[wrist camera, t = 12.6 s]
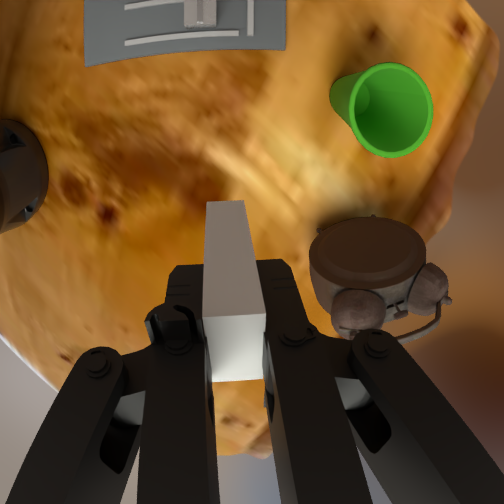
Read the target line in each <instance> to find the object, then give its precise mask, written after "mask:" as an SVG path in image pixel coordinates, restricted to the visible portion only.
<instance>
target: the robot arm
mask: <svg viewBox="0 0 504 504" xmlns="http://www.w3.org/2000/svg"><path fill="white" fill-rule="evenodd" d="M47 187H48V168H47V163H46V158H45V155H44V152H43V150H42V148H41V146H40V144H39V142H38V140H37V139H36V137H35V136H34V135H33V133H32V132H31V131H30V130H29V129H28V128H26V127H25V126H24V125H22V124H21V123H19V122H16V121H14V120H8V119H2V120H0V234H1V233H3V232H6V231H9V230H11V229H14V228H16V227H19V226H21V225H23V224H24V223H26V222H27V221H28V220H29V219H30V218H31V217H32V216H33V215H34V214H35V213H36V212H37V211H38V210H39V208H40V207H41V205H42V203H43V201H44V199H45V196H46V192H47ZM144 322H145V325H146V328H147V331H148V335H149V338H150V341H151V345H149V346H148V347H146V348H144V349H142V350H139V351H137V352H133V353H129V354H125V355H122V356H121V355H120V354H119V353H118V352H117V351H116V350H114V349H112V348H110V347H101V346H100V347H96V348H92V349H90V350H88V351H86V352H85V353H83V354H82V355H81V356H80V358H79V359H78V360H77V361H76V363H75V365H74V367H73V368H72V370H71V372H70V373H69V375H68V377H67V379H66V380H65V382H64V384H63V386H62V388H61V389H60V391H59V393H58V395H57V397H56V398H55V400H54V402H53V404H52V406H51V408H50V410H49V411H48V414H47V415H46V417H45V419H44V421H43V423H42V425H41V427H40V429H39V431H38V433H37V435H36V437H35V439H34V441H33V443H32V445H31V447H30V449H29V451H28V453H27V455H26V458H25V460H24V462H23V464H22V466H21V469H20V471H19V473H18V475H17V478H16V480H15V482H14V484H13V487H12V489H11V491H10V494H9V496H8V499H7V501H6V503H5V504H120V502H121V499H122V495H123V493H124V490H125V487H126V484H127V481H128V478H129V475H130V473H131V469H132V467H133V464H134V461H135V458H136V455H137V452H138V449H139V447H140V453H139V468H138V486H137V504H220V495H219V481H218V467H217V451H216V433H215V412H214V396H213V391H212V382H221V381H238V380H252V379H263V375H264V381H265V394H264V407H266V408H267V415H268V421H269V428H270V434H271V441H272V447H273V454H274V460H275V466H276V473H277V479H278V485H279V492H280V498H281V504H373V502H372V499H371V495H370V492H369V489H368V485H367V481H366V478H365V474H364V471H363V467H362V464H361V460H360V457H359V454H358V451H357V447H358V449H359V451H360V452H361V454H362V456H363V457H364V459H365V460H366V462H367V463H368V465H369V467H370V468H371V470H372V472H373V473H374V475H375V476H376V478H377V480H378V481H379V483H380V485H381V486H382V488H383V489H384V491H385V492H386V494H387V496H388V497H389V499H390V501H391V502H392V504H504V474H503V473H502V472H501V470H500V469H499V467H498V466H497V465H496V463H495V462H494V461H493V459H492V458H491V457H490V455H489V454H488V453H487V451H486V450H485V449H484V447H483V446H482V444H481V443H480V442H479V440H478V439H477V438H476V437H475V435H474V434H473V433H472V431H471V430H470V429H469V427H468V426H467V425H466V424H465V422H464V421H463V420H462V418H461V417H460V416H459V415H458V413H457V412H456V411H455V409H454V408H453V407H452V406H451V404H450V403H449V402H448V401H447V400H446V398H445V397H444V396H443V394H442V393H441V392H440V391H439V389H438V388H437V387H436V386H435V385H434V383H433V382H432V381H431V380H430V378H429V377H428V376H427V375H426V374H425V373H424V371H423V370H422V369H421V368H420V366H419V365H418V364H417V363H416V362H415V360H414V359H413V358H412V357H411V356H410V355H409V353H408V352H407V351H406V350H405V349H404V348H403V346H402V345H401V344H400V343H399V342H398V340H397V339H396V338H395V337H393V336H392V335H391V334H390V333H388V332H385V331H383V330H381V329H373V328H371V329H365V330H362V331H360V332H359V333H357V334H356V335H355V337H354V338H353V340H347V339H340V338H333V337H329V336H326V335H324V334H321V333H320V332H319V331H318V330H317V328H316V327H315V326H314V325H312V324H311V323H310V322H309V320H308V318H307V315H306V312H305V309H304V306H303V303H302V300H301V297H300V294H299V291H298V288H297V285H296V282H295V280H294V276H293V273H292V270H291V267H290V266H289V265H288V264H287V263H285V262H284V261H283V260H282V259H269V260H255V255H254V250H253V245H252V240H251V235H250V229H249V224H248V219H247V214H246V209H245V204H244V200H239V201H217V202H207V209H206V227H205V248H204V264H195V265H177V266H176V267H175V268H174V270H173V271H172V272H171V273H170V275H169V279H168V285H167V291H166V297H165V303H163V304H161V305H159V306H157V307H155V308H154V309H152V310H151V311H150V312H149V313H148V315H147V317H146V319H145V321H144ZM356 446H357V447H356Z"/></svg>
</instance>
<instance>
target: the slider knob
mask: <svg viewBox="0 0 504 504" xmlns="http://www.w3.org/2000/svg"><path fill="white" fill-rule="evenodd" d="M184 26H185V27H186V29H187V30H190V29H205V28H216V0H184Z"/></svg>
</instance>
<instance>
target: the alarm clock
mask: <svg viewBox="0 0 504 504" xmlns="http://www.w3.org/2000/svg"><path fill="white" fill-rule="evenodd" d="M317 232H318V233H320V234H319V235H318V236H317V237H316V238H315V239H314V241H313V242H312V244H311V246H310V250H309V261H310V276H311V281H312V284H313V288H314V291H315V294H316V297H317V300H318V302H319V303H320V305H321V306H322V307H323V309H324V310H325V311H327V312H328V313H329V314H330V315H331V322H332V325H333V327H334V329H335V331H336V332H337V333H338V334H339V335H340V336H342V337H344V338H346V339H348V340H353V338H354V337H355V335H356V334H357V333H359V332H360V331H362V330H365V329H371V328H373V329H381V327H382V325H383V323H386V322H389V321H392V320H395V319H400V318H403V317H406V316H407V315H408V311H409V312H412V313H414V314H418V315H423V316H428V315H431V314H433V313H435V312H436V316H435V319H434V320H433V321H431V322H430V323H428V324H427V325H426V326H424V327H422V328H420V329H417V330H415V331H412V332H410V333H407V334H404V335H400V336H398V337H395V338H396V339H397V340H398V342H399V343H400V344H404V343H407V342H410V341H412V340H415V339H418V338H420V337H422V336H424V335H426V334H428V333H429V332H430V331H432V330H433V329H434V328H436V327H437V326H438V323H439V321H440V317H441V306H442V304H443V303H444V304H446V305H450V304H451V303H452V299H451V298H450V297H448V279H447V276H446V274H445V273H444V272H443V271H442V270H441V269H440V268H439V267H437V266H436V265H434V264H433V263H427V264H426V247H425V243H424V241H423V239H422V238H421V236H420V235H419V234H418V233H417V232H416V231H415V230H413V229H412V228H411V227H409V226H407V225H405V224H403V223H401V222H398V221H395V220H392V219H387V218H380V217H376V216H375V215H374V214H372V215H371V217H361V218H354V219H349V220H345V221H342V222H339V223H337V224H334V225H332V226H330V227H328V228H327V229H325V230H324V231H323V230H321V229H320V228H318V229H317Z"/></svg>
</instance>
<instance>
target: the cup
mask: <svg viewBox="0 0 504 504" xmlns="http://www.w3.org/2000/svg"><path fill="white" fill-rule="evenodd" d="M330 103H331V105H332V107H333V109H334V110H335V112H336V113H337V114H338V115H339V116H340V117H341V118H342V119H343V120H344V121H345V122H346V123H347V124H348V125H349V126H350V127H351V128H352V131H353V133H354V135H355V136H356V138H357V140H358V141H359V142H360V143H361V144H362V145H363V146H364V148H365V149H367V150H368V151H370V152H372V153H373V154H375V155H378V156H381V157H384V158H396V157H400V156H405V155H407V154H409V153H411V152H412V151H414V150H415V149H416V148H418V147H419V146H420V145H421V144H422V142H423V141H424V140H425V138H426V137H427V135H428V133H429V130H430V128H431V125H432V119H433V103H432V98H431V94H430V92H429V90H428V88H427V86H426V84H425V83H424V81H423V80H422V79H421V77H420V76H419V75H418V74H417V73H416V72H414V71H413V70H412V69H411V68H409V67H407V66H404V65H402V64H399V63H393V62H386V63H379V64H376V65H374V66H372V67H369V68H368V69H367V70H366V71H362V72H358V73H355V74H351V75H348V76H344V77H342V78H340V79H338V80H337V81H336V82H335V83H334V84H333V85H332V87H331V90H330Z"/></svg>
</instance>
